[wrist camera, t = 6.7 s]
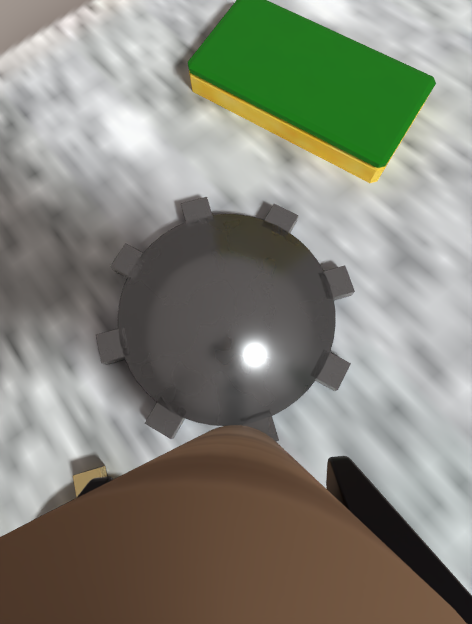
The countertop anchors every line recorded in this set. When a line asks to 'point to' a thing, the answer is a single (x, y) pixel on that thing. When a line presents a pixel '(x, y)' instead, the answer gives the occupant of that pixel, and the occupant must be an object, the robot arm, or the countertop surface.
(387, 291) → the countertop surface
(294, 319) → the steel gear disc
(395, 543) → the robot arm
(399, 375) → the countertop surface
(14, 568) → the walnut axle
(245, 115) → the dish sponge
